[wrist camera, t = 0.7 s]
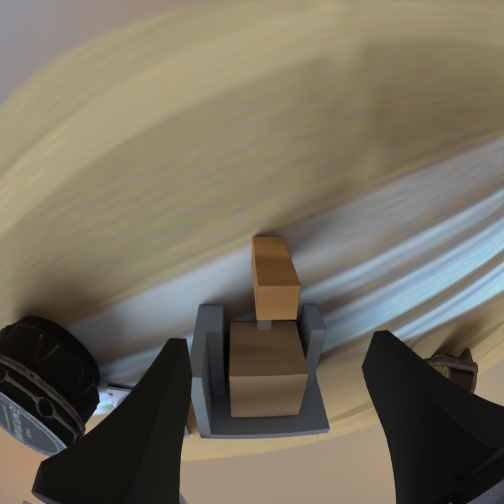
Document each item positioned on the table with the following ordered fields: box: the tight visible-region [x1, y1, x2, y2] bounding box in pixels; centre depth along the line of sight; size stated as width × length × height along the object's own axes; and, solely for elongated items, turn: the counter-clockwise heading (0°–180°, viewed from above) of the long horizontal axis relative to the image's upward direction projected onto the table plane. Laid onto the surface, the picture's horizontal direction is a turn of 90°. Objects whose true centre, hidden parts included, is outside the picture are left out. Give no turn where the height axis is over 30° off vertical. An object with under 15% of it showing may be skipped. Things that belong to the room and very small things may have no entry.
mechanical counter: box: [423, 348, 478, 393], centre depth 23 cm, size 7×13×10 cm
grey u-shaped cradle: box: [190, 304, 330, 439], centre depth 20 cm, size 8×10×7 cm
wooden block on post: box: [229, 237, 309, 417], centre depth 19 cm, size 12×5×6 cm, turn 179°
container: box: [0, 316, 100, 457], centre depth 19 cm, size 13×13×10 cm
